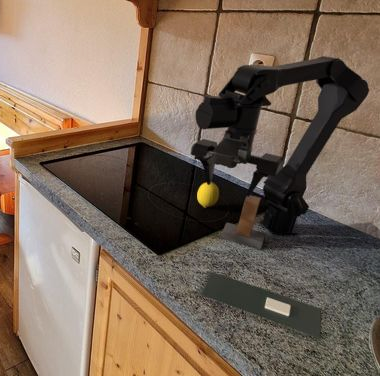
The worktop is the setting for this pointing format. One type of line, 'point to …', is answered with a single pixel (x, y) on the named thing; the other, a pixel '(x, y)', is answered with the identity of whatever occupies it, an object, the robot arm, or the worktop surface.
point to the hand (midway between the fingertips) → (228, 190)
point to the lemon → (208, 194)
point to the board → (263, 303)
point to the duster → (245, 225)
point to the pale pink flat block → (277, 306)
